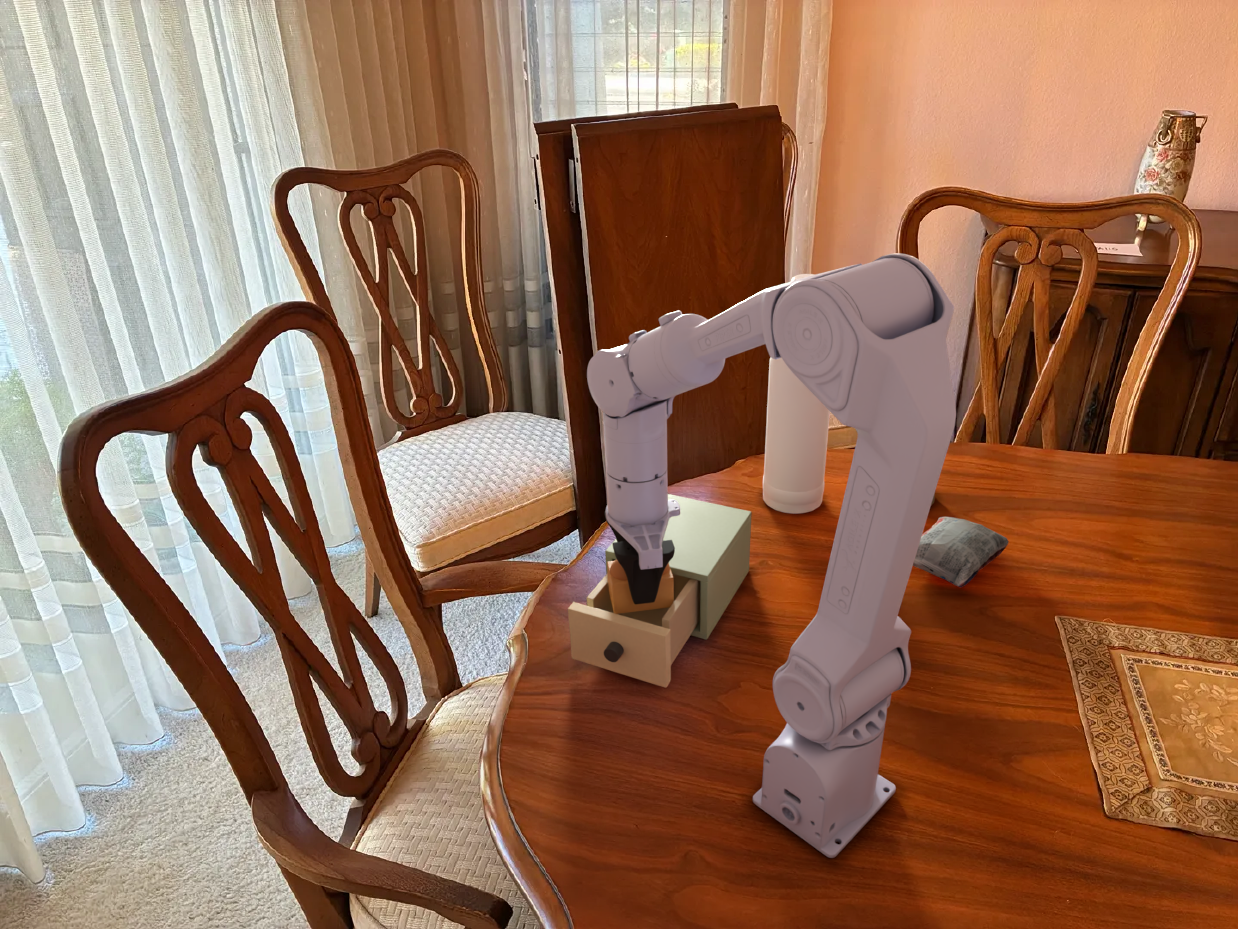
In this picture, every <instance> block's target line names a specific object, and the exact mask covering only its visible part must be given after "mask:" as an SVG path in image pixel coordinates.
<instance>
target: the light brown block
mask: <svg viewBox="0 0 1238 929" xmlns="http://www.w3.org/2000/svg"><path fill="white" fill-rule="evenodd" d="M607 570H608V589H609V594H610V599H611V603H612V608H613V612H614V613H615V614H619V613H628V612H636V611H644V610H652V609H661V608H669V607H671V605H672V604H673V602H674V578H673V575H672V572H671V569H670V566H669V563H668V564H667V566H666V568H665V570H664V572H663V574H662V577H661V581H660V585H659V589H658V593H657V596H656V599H655V602H653V603H644V604H634V602H633V600H632V597H631V593H630V589H629V585H628V580H627V576H626V573H625V571H624V569H623V568H622V566H621V565H620V564H619V562H618V560H617V559H616V560H615V561H608V562H607Z"/></svg>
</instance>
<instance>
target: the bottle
mask: <svg viewBox="0 0 1238 929" xmlns="http://www.w3.org/2000/svg"><path fill="white" fill-rule="evenodd" d="M812 275H815V274H813V273H801V274H796V275H794V276H793V277H792V278H791V280H790V282H791V281H794V280H798V279H801V278H805V277H808V276H812ZM769 357H770V356H769ZM768 365H769V367H768V369H769V370H768V386H767V402H766V403H767V404H766V406H767V407H766V426H765V445H764V466H763V475H762V500H763V501H764V503H765V504H766V505H767V506H768V507H769V508H771V509H773V510H774V511H777V512H780V513H784V514H792V515H799V514H807V513H809V512H813V511H814V510H817V509H818V508H819V507H820V506H821V504H822V503H823V497H824V493H825V475H826V474H825V472H826V464H827V453H828V452H827V451H828V450H827V449H828V440H829V430H830V429H829V427H830V419H831V418H830V416H831V412H830V411H829V410H828V409H827V408H826V407H825V406H824V405H823V404H822V403H821V402H820V401H819V399H818V398H817V397H816V396H815V395H814V394H813V393H812V392H811V391H810V390H809V389H808V388H807V387H806V386H805V385H804V384H803V383H802V382H801V381H800V380H799V379H798V378H797V377H796V376H795V375H794V373H793V372H792V371H791V370H790V369H789V368H788V366H787V365H786V364H785V362H784V361H783V359H782V357H781V358H779V359H773V358H771V357H770V358H769V364H768Z"/></svg>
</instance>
